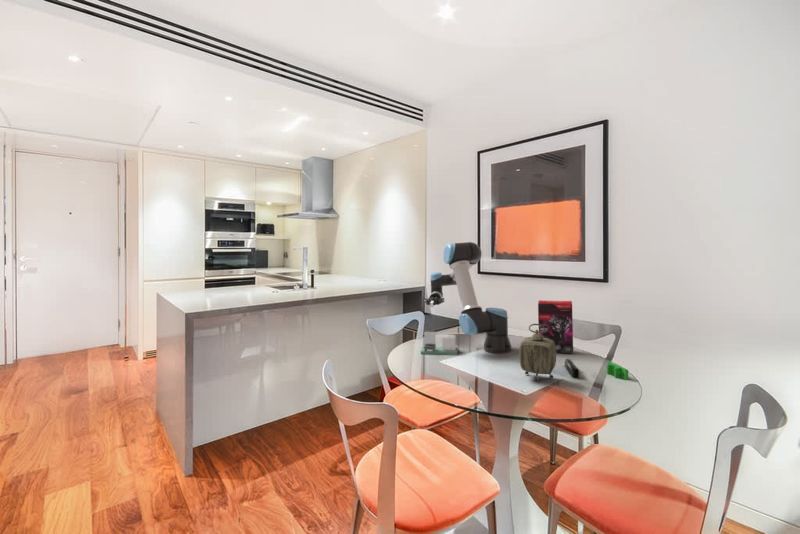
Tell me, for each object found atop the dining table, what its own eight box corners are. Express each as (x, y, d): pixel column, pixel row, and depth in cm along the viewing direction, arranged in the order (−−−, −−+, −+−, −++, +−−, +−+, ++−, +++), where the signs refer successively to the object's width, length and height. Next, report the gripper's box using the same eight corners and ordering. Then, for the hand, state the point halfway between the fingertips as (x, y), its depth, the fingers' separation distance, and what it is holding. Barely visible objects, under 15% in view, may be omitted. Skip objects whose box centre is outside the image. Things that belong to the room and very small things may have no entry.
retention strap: (435, 349, 213) (435, 331, 212) (435, 351, 209) (434, 333, 208) (425, 348, 214) (424, 331, 213) (424, 351, 210) (423, 333, 209)
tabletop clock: (556, 377, 169) (556, 322, 166) (553, 385, 161) (552, 327, 159) (523, 373, 176) (522, 320, 174) (518, 380, 168) (517, 324, 166)
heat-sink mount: (457, 349, 215) (457, 334, 214) (457, 354, 207) (456, 338, 206) (422, 349, 219) (422, 334, 218) (420, 353, 211) (420, 338, 210)
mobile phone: (580, 368, 166) (568, 356, 181) (572, 368, 166) (562, 356, 181) (580, 379, 167) (568, 366, 182) (572, 379, 167) (562, 366, 182)
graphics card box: (538, 352, 204) (537, 302, 202) (539, 348, 211) (538, 299, 208) (573, 354, 198) (573, 303, 195) (572, 350, 204) (572, 300, 202)
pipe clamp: (602, 372, 173) (602, 362, 173) (609, 371, 174) (609, 361, 174) (620, 381, 162) (620, 370, 162) (628, 380, 163) (628, 369, 163)
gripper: (445, 303, 246) (442, 311, 223) (425, 304, 248) (420, 311, 225) (445, 292, 245) (442, 298, 222) (425, 292, 248) (420, 299, 225)
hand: (431, 305), depth 224 cm, fingers closed
